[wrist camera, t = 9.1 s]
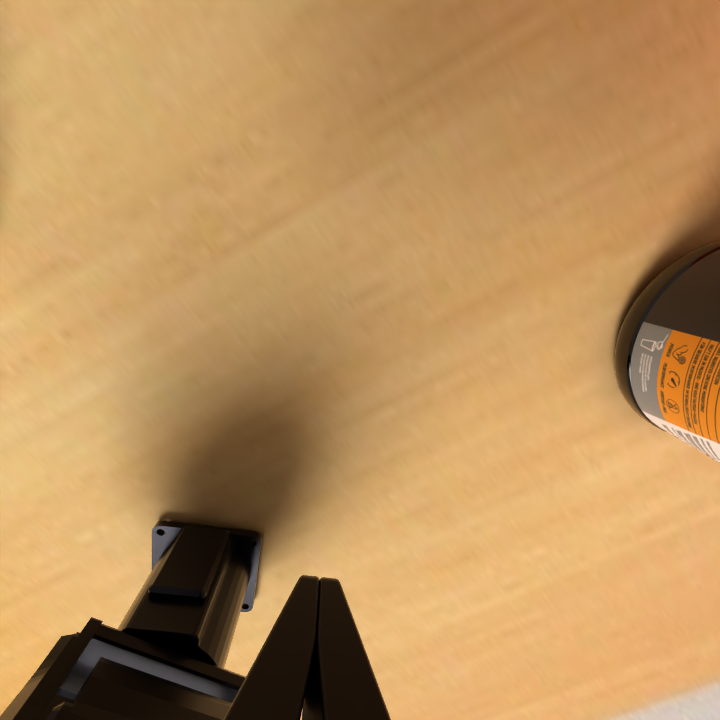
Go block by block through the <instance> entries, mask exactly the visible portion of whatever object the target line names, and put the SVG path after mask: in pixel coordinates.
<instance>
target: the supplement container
mask: <svg viewBox="0 0 720 720" xmlns="http://www.w3.org/2000/svg"><path fill="white" fill-rule="evenodd" d="M614 367H615V375H616V379H617V383H618V386H619V388H620V391H621V393H622V395H623V396H624V398H625V400H626V401H627V403H628V404H629V405H630V406H631V408H632V409H633V410H634V411H635V412H636V413H637V414H638V415H639V416H640V417H642V418H643V419H645V420H646V421H647V422H649V423H650V424H652V425H654V426H656V427H657V428H659V429H661V430H663V431H666V432H669V433H670V434H672V435H674V436H675V437H677V438H679V439H680V440H682V441H684V442H685V443H687V444H689V445H691V446H692V447H694V448H696V449H697V450H699V451H701V452H702V453H704V454H706V455H707V456H709V457H711V458H712V459H714V460H716V461H718V462H719V463H720V241H716V242H714V243H711V244H708V245H705V246H703V247H701V248H699V249H696V250H694V251H692V252H690V253H688V254H687V255H685V256H683V257H681V258H680V259H678V260H677V261H675V262H674V263H672V264H671V265H669V266H668V267H667V268H666V269H664V270H663V271H662V272H661V273H660V274H659V275H657V276H656V277H655V278H654V279H653V280H652V281H651V282H650V283H649V284H648V285H647V286H646V288H645V289H644V290H643V291H642V292H641V294H640V295H639V296H638V297H637V299H636V300H635V302H634V303H633V305H632V306H631V308H630V309H629V311H628V313H627V315H626V317H625V319H624V321H623V324H622V326H621V328H620V331H619V335H618V338H617V342H616V347H615V356H614Z"/></svg>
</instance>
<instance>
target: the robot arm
mask: <svg viewBox="0 0 720 720" xmlns="http://www.w3.org/2000/svg"><path fill="white" fill-rule="evenodd" d="M161 529H162V530H161ZM252 540H255V541H252ZM261 545H262V536H261V534H259V533H258V532H253V531H245V530H236V529H228V528H220V527H211V526H203V525H195V524H186V523H178V522H169V521H159V522H158V523H157V524H156V525H155V526H154V528H153V530H152V572H151V574H150V575H149V577H148V579H147V580H146V582H145V584H144V585H143V587H142V589H141V590H140V592H139V594H138V595H137V597H136V599H135V601H134V602H133V604H132V606H131V607H130V609H129V611H128V612H127V614H126V616H125V617H124V619H123V621H122V622H121V624H120V626H119V628H118V629H115V628H112V627H109V626H107V625H104V624H101V623H102V622H103V621H101V620H98V619H95V618H93V617H91V619H90V620H89V622H88V623H87V624H86V626H85V627H84V629H83V630H82V632H81V633H79V632H77V633H76V634H72V635H66V636H61V638H60V639H59V640H58V642H57V643H56V645H55V646H54V647H53V649H52V650H51V651H50V653H49V654H48V656H47V657H46V658H45V660H44V661H43V663H42V664H41V665H40V667H39V668H38V669H37V671H36V672H35V673H34V675H33V676H32V677H31V679H30V680H29V681H28V683H27V684H26V685H25V686H24V688H23V689H22V690H21V691H20V693H19V694H18V695H17V696H16V697H15V699H14V700H13V701H12V702H11V704H10V705H9V706H8V707H7V709H6V710H5V711H4V712H3V714H2V715H1V716H0V720H300V717H301V712H302V708H303V712H302V720H391V719H390V716H389V713H388V710H387V708H386V705H385V702H384V700H383V697H382V694H381V692H380V689H379V686H378V683H377V681H376V678H375V675H374V673H373V670H372V667H371V665H370V662H369V659H368V656H367V654H366V651H365V648H364V646H363V643H362V640H361V638H360V635H359V632H358V630H357V627H356V624H355V621H354V619H353V616H352V613H351V611H350V608H349V605H348V603H347V600H346V597H345V594H344V592H343V589H342V586H341V584H340V582H339V580H338V579H334V578H325V577H323V578H321V579H320V581H319V578H318V577H316V576H307V575H302V576H301V577H300V578H299V580H298V582H297V583H296V585H295V587H294V589H293V591H292V593H291V595H290V596H289V598H288V600H287V602H286V604H285V606H284V608H283V609H282V611H281V613H280V615H279V617H278V619H277V621H276V623H275V624H274V626H273V628H272V630H271V632H270V634H269V636H268V637H267V639H266V641H265V643H264V645H263V647H262V649H261V650H260V652H259V654H258V656H257V658H256V660H255V662H254V663H253V665H252V667H251V669H250V671H249V673H248V675H247V676H246V677H245V676H242V675H239V674H237V673H234V672H231V671H228V670H226V669H224V666H225V663H226V660H227V656H228V653H229V649H230V646H231V642H232V639H233V635H234V632H235V628H236V625H237V621H238V618H239V615H240V611H241V612H248V611H250V610H252V608H253V604H254V599H255V591H256V584H257V576H258V568H259V560H260V553H261Z"/></svg>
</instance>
